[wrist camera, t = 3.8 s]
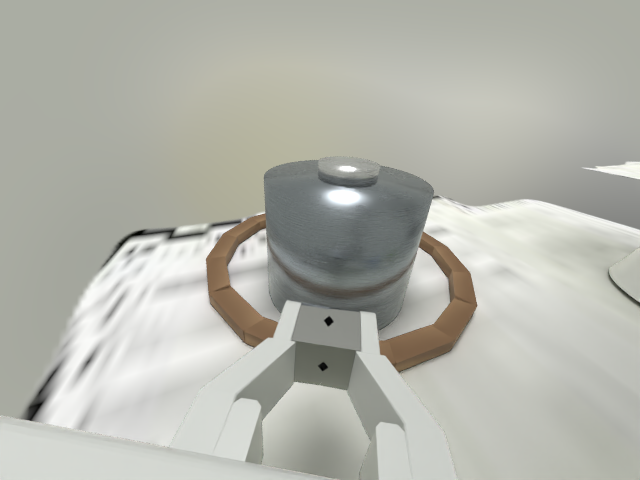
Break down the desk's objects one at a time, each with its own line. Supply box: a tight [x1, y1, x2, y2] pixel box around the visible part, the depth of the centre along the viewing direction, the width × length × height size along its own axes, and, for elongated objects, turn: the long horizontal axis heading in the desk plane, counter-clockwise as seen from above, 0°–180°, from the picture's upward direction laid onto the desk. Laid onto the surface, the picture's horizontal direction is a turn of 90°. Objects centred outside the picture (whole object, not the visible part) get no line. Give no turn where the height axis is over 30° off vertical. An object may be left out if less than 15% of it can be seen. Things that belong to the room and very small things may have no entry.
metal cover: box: [264, 157, 434, 330], centre depth 19 cm, size 11×11×10 cm
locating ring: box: [206, 213, 477, 372], centre depth 24 cm, size 23×23×1 cm
